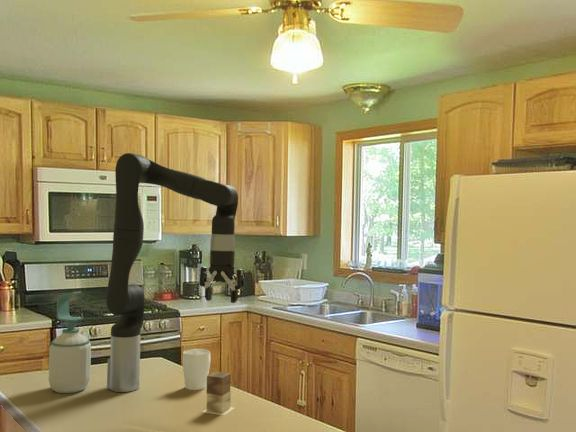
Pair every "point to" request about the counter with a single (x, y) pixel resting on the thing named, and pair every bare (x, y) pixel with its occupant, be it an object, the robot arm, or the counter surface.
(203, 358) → the cup
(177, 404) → the counter surface
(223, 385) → the walnut block
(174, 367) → the counter surface
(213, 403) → the maple block
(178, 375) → the counter surface
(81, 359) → the soap bottle
